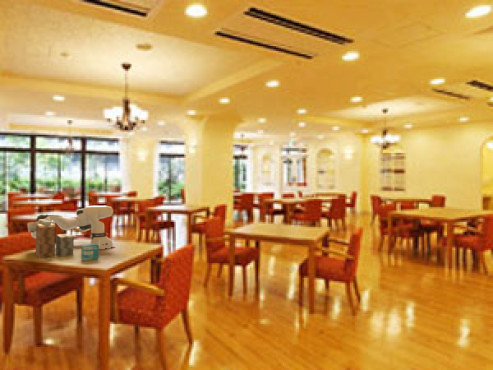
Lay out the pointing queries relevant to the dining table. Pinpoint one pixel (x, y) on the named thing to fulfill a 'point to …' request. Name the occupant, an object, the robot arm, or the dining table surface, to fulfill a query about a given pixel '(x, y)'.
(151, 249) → the dining table surface
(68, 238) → the grey marbled block
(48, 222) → the sanding stick
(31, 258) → the dining table surface
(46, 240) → the tall stand
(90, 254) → the data package
